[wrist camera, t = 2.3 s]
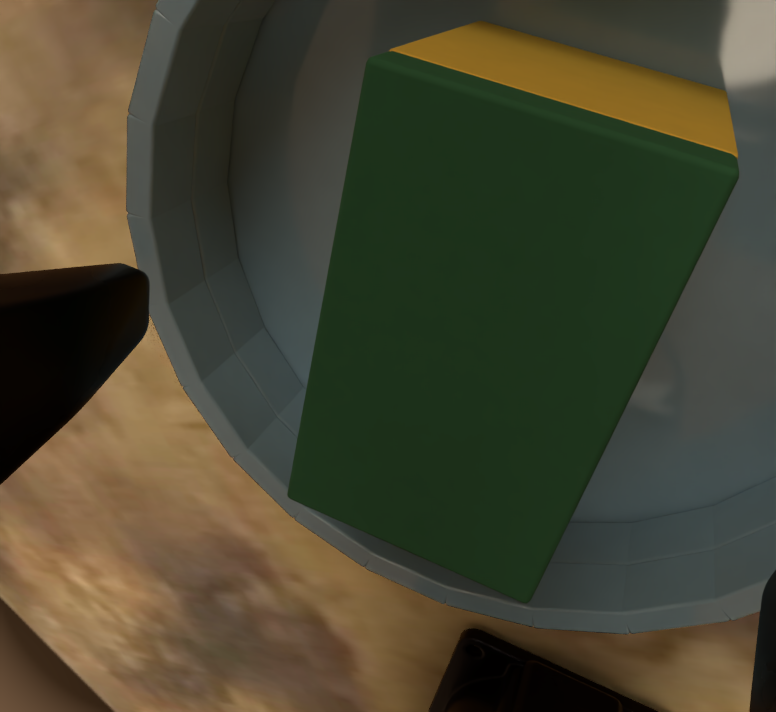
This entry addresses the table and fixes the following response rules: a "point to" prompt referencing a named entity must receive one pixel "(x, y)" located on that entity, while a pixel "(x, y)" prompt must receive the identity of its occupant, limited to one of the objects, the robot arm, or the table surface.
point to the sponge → (499, 289)
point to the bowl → (312, 257)
